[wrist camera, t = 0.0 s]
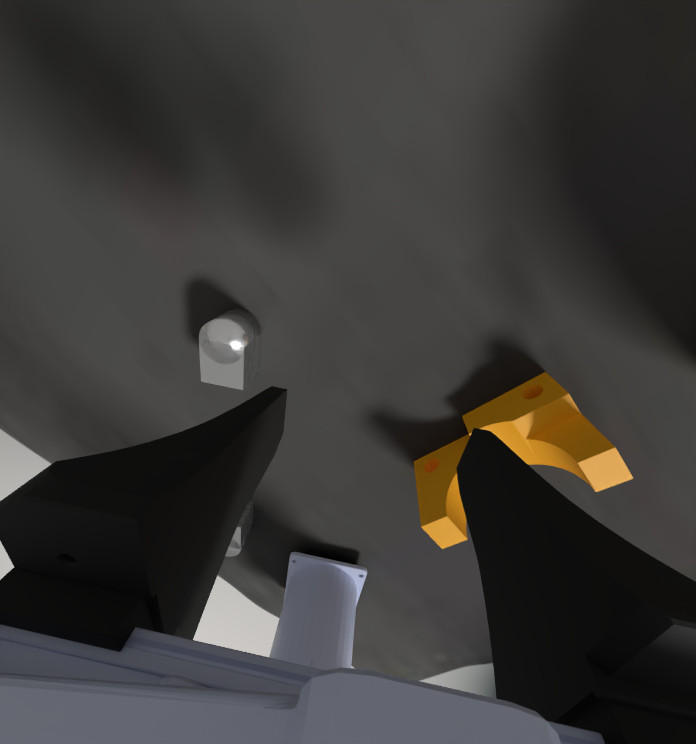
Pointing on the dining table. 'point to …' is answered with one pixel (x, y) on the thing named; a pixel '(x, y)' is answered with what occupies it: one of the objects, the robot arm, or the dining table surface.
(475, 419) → the pipe clamp
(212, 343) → the chain ends
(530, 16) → the dining table surface
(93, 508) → the robot arm
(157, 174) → the dining table surface
